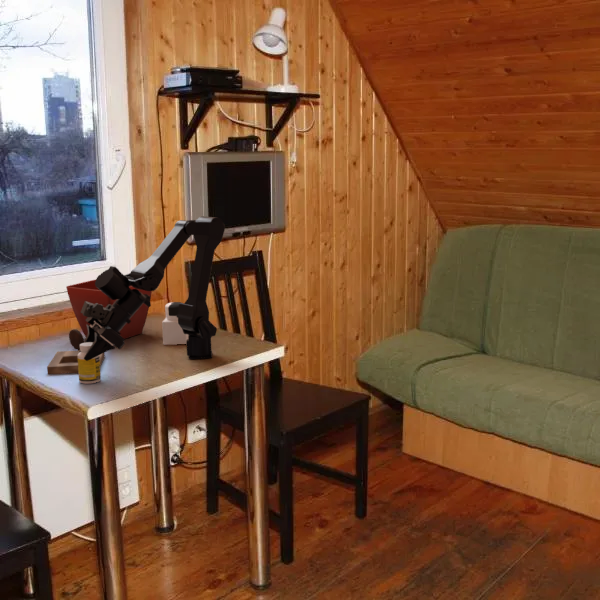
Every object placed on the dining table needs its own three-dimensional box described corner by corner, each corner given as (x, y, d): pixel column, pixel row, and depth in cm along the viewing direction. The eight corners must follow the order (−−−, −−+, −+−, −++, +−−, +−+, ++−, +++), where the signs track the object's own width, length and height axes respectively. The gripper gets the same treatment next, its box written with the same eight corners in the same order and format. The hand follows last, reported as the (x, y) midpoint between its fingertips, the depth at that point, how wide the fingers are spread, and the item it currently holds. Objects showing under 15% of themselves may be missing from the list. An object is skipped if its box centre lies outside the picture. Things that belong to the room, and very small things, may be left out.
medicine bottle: (190, 338, 237) (189, 300, 235) (186, 344, 230) (184, 305, 228) (167, 338, 238) (165, 300, 235) (162, 345, 231) (160, 305, 228)
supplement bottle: (100, 383, 195) (97, 346, 193) (78, 385, 194) (75, 347, 192) (102, 377, 200) (99, 340, 198) (80, 378, 200) (77, 341, 198)
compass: (104, 349, 227) (102, 325, 226) (81, 355, 221) (79, 331, 220) (87, 345, 232) (85, 321, 230) (64, 351, 226) (62, 327, 224)
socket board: (104, 356, 220) (104, 349, 219) (98, 371, 205) (97, 364, 205) (57, 358, 218) (57, 351, 218) (47, 374, 204) (47, 366, 203)
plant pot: (68, 339, 239) (64, 285, 236) (113, 326, 255) (110, 275, 252) (113, 347, 229) (109, 291, 226) (157, 332, 245) (154, 280, 242)
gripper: (91, 283, 202) (51, 330, 200) (108, 296, 186) (64, 346, 184) (122, 309, 208) (84, 355, 205) (142, 324, 191) (100, 373, 189)
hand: (82, 357), depth 195 cm, fingers closed on supplement bottle, 5 cm apart
